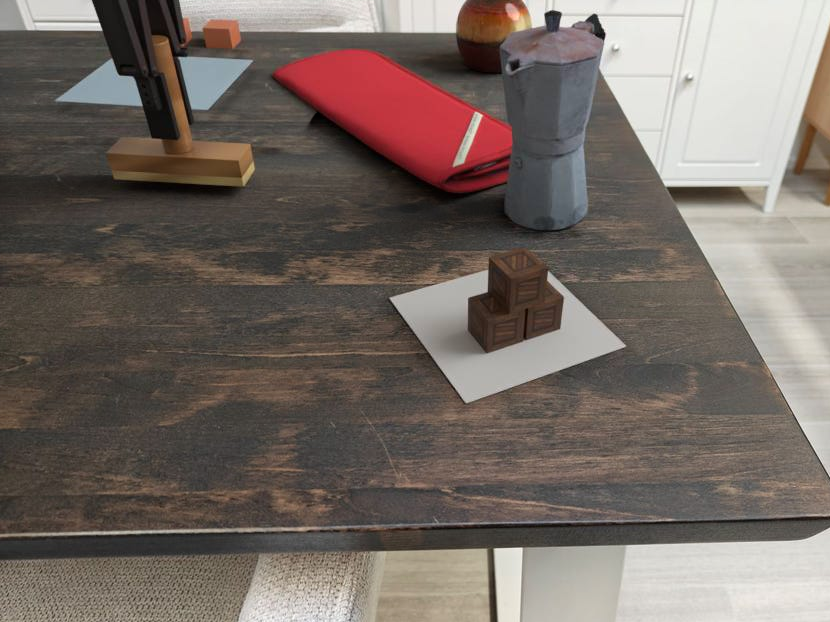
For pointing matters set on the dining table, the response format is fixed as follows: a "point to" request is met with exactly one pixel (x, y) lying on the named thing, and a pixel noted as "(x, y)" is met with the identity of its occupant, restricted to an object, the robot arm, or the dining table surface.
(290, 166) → the dining table surface
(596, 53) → the moka pot
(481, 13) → the vase
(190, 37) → the orange cube
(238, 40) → the right orange cube
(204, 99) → the tray
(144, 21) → the robot arm
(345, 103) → the dish drying mat
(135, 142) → the brush
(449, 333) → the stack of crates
